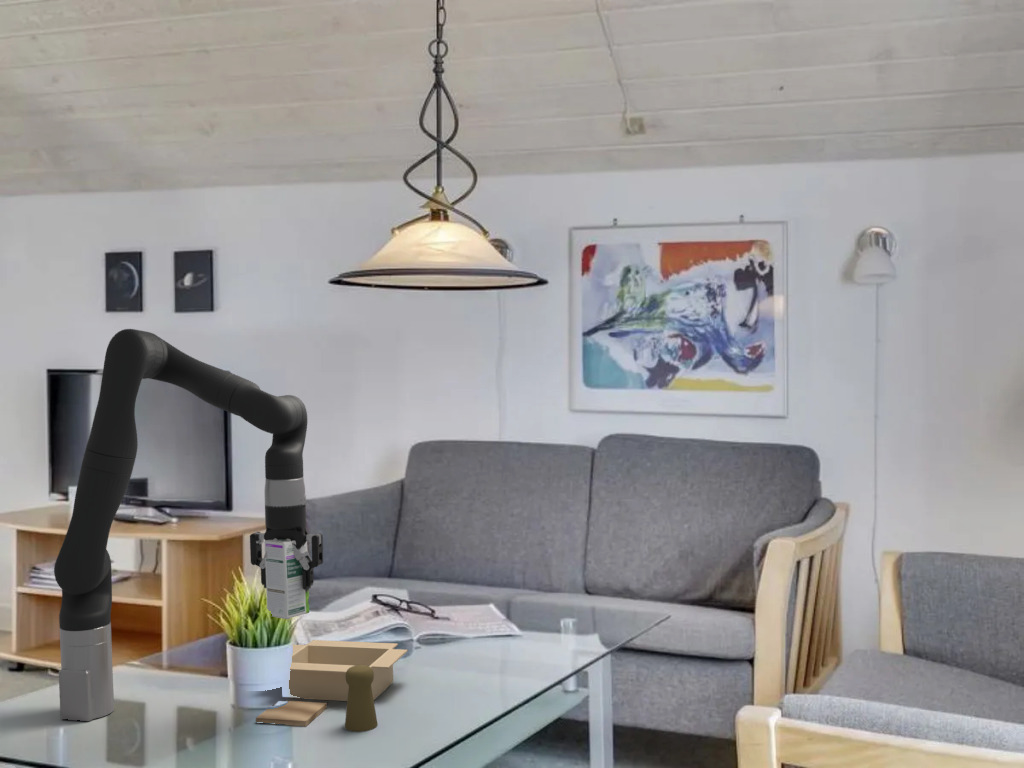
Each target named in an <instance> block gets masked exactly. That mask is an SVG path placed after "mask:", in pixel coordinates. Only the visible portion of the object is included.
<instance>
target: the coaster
mask: <svg viewBox="0 0 1024 768" xmlns="http://www.w3.org/2000/svg"><path fill="white" fill-rule="evenodd" d="M288 701H289V702H288V703H287V704H286V705H284V706H281V707H278V708H274V709H268V708H267V709H265V711H263V712H261V713H260V714H258V716H256V717H255V723H256V722H263V723H275V724H274V725H276V724H285V725H284V726H293V727H294V726H296V727H307V726H308V725H310V724H311V723H312V722H313V721H314V720H315V719H316V718H317V717H318V716H320V715H321V714H322V713H323V712H324V711H325V710H327V708H328V703H327V702H315V701H300V700H299V701H297V700H288Z"/></svg>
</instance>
